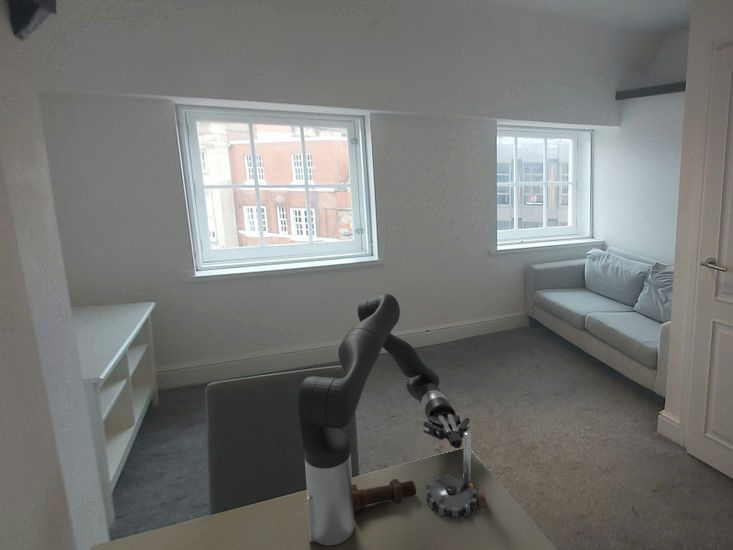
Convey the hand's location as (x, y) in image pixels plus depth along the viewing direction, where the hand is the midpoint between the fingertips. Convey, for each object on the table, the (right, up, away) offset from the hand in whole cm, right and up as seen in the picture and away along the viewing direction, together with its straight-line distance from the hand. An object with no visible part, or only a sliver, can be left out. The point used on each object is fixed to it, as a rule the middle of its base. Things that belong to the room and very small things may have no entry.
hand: (457, 444), depth 101 cm
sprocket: (-3, -10, -7) cm, 12 cm away
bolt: (-18, -11, -7) cm, 22 cm away
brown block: (+3, -10, -8) cm, 13 cm away
